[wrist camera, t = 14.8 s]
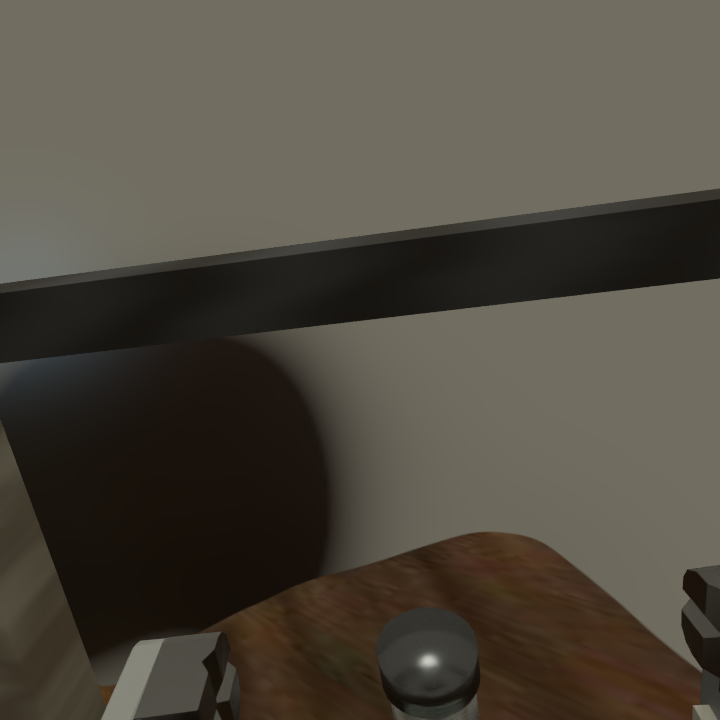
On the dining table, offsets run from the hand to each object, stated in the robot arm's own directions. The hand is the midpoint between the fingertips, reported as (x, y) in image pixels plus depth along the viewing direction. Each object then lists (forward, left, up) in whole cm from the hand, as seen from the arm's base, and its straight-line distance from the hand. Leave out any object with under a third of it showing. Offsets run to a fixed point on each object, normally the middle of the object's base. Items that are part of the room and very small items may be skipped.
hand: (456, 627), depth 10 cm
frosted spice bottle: (-1, +15, -30) cm, 33 cm away
